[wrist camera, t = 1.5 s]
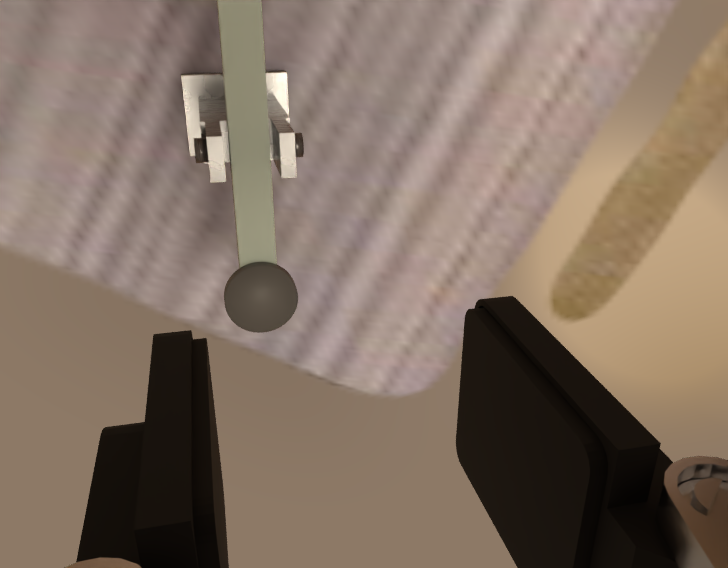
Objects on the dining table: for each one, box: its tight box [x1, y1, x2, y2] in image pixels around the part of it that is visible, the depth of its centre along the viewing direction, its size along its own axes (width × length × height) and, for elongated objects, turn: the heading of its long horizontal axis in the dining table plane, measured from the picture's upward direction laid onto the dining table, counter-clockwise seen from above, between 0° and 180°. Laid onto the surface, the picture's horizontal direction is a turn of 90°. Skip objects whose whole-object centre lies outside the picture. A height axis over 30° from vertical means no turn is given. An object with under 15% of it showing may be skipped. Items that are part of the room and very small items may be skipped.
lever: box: [217, 0, 298, 332], centre depth 26 cm, size 25×3×2 cm, turn 0°
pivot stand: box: [181, 71, 304, 183], centre depth 31 cm, size 4×5×10 cm
